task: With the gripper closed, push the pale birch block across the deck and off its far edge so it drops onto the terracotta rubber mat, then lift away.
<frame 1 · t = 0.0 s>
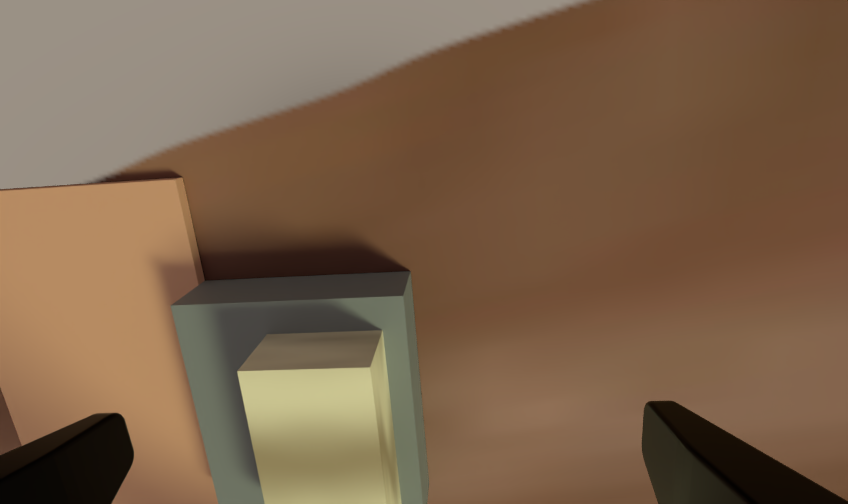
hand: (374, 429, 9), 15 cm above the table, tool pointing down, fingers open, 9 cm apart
birch block: (329, 445, 21), point 4 cm above the table, touching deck
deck: (322, 386, 25), on the table
mat: (119, 391, 26), on the table
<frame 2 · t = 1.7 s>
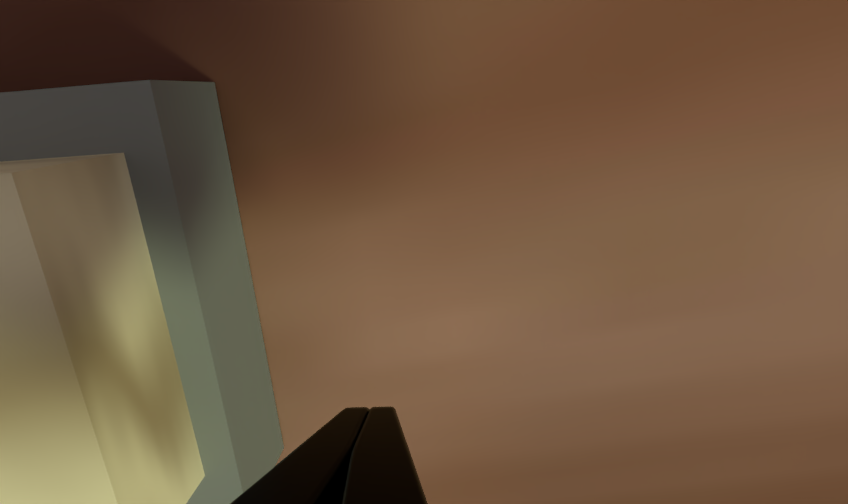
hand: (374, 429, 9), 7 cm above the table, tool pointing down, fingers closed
birch block: (29, 364, 12), point 4 cm above the table, touching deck
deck: (102, 292, 16), on the table
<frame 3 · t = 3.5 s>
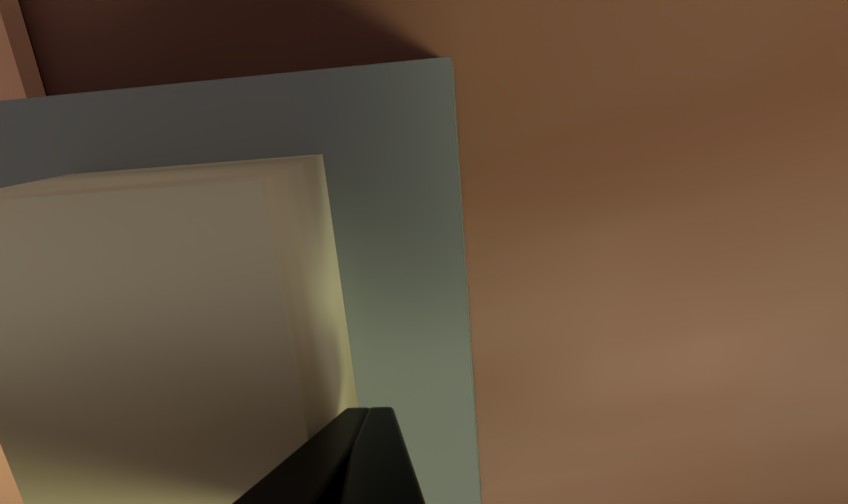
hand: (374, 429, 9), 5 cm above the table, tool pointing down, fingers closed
birch block: (205, 416, 9), point 5 cm above the table, touching gripper
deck: (285, 317, 14), on the table
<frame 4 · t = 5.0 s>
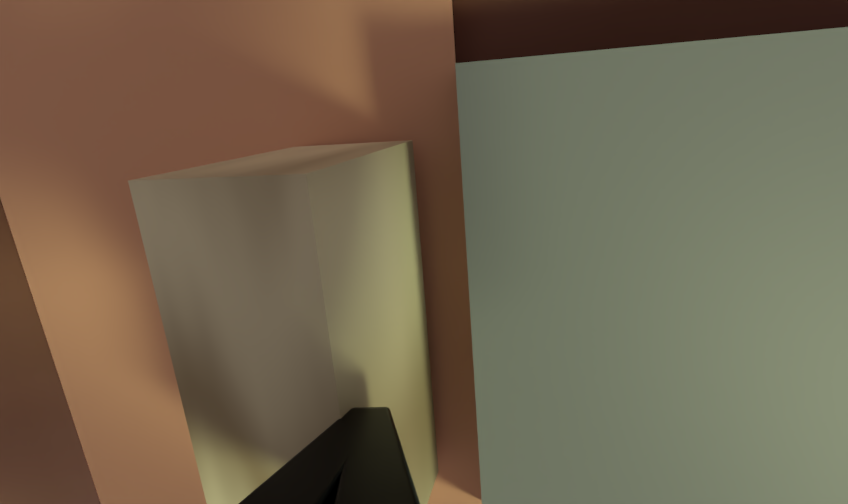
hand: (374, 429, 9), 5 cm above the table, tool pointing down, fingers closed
birch block: (329, 368, 11), point 3 cm above the table, tilted 101°, touching gripper, mat
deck: (660, 295, 13), on the table
mat: (257, 315, 14), on the table
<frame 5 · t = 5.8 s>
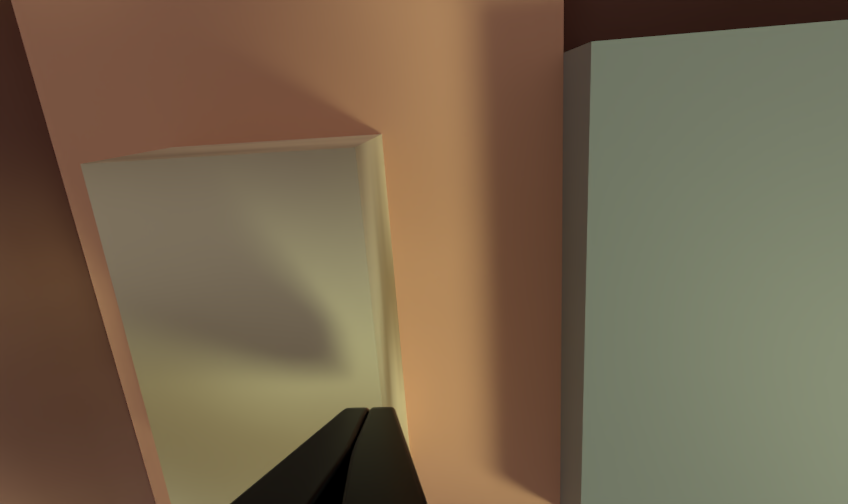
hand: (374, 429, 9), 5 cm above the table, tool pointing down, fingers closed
birch block: (282, 346, 12), point 2 cm above the table, tilted 180°, touching mat
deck: (761, 295, 12), on the table
mat: (329, 312, 13), on the table
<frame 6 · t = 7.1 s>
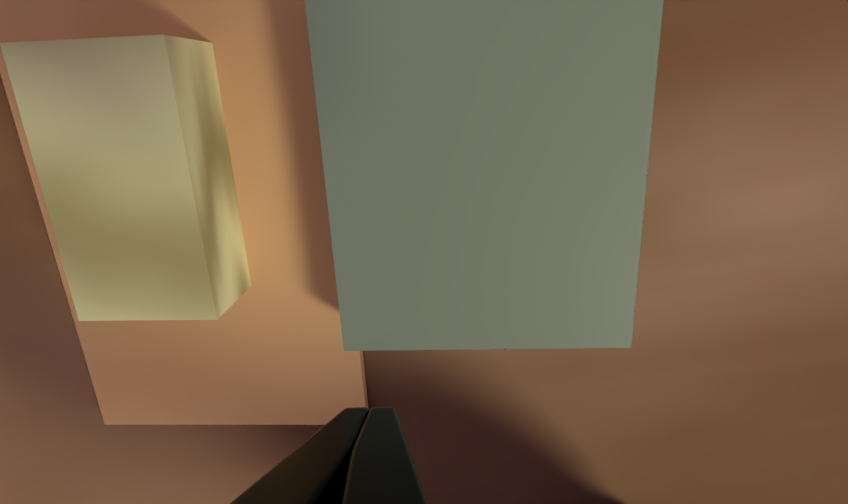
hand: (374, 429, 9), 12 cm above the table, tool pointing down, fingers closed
birch block: (144, 183, 17), point 2 cm above the table, tilted 180°, touching mat
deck: (478, 164, 18), on the table
mat: (191, 175, 19), on the table
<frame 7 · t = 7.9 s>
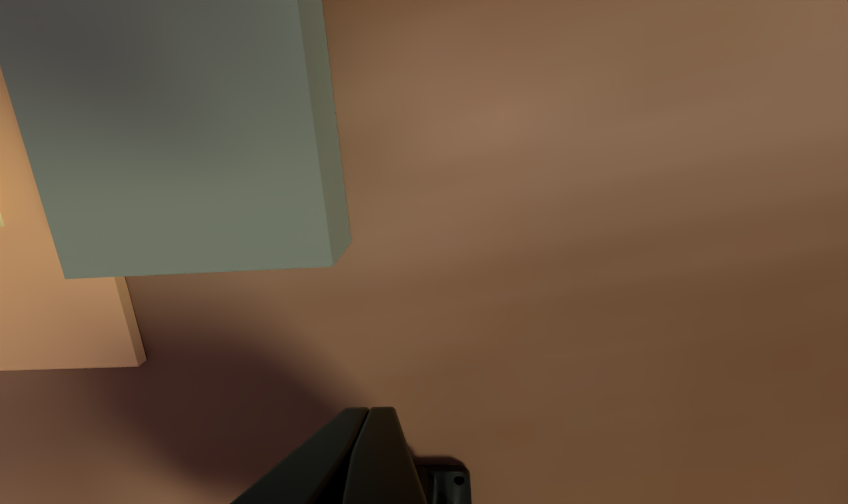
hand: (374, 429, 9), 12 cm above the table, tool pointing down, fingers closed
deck: (202, 96, 19), on the table
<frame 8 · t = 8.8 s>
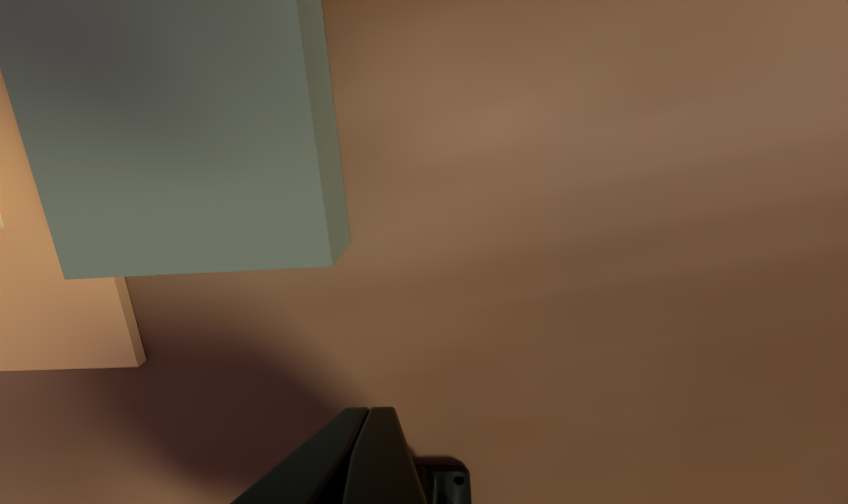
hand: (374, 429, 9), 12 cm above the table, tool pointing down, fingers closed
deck: (202, 96, 19), on the table
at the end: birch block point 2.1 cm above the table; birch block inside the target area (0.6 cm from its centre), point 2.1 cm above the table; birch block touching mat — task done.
